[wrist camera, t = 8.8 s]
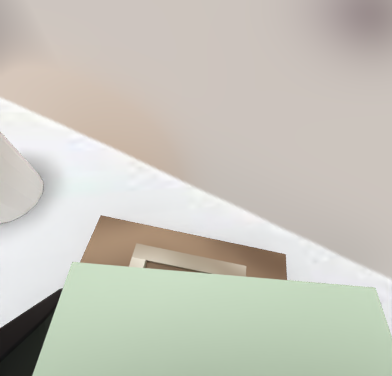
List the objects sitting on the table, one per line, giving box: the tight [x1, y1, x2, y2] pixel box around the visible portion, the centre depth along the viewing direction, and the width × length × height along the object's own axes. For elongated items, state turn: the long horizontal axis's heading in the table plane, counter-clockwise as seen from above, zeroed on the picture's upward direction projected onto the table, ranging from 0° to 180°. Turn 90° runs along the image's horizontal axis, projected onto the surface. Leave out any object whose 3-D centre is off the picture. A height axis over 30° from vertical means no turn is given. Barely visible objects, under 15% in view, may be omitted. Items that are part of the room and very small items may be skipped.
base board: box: [80, 216, 287, 280], centre depth 13 cm, size 12×16×2 cm
